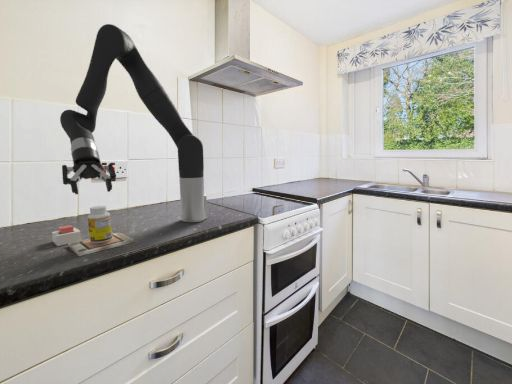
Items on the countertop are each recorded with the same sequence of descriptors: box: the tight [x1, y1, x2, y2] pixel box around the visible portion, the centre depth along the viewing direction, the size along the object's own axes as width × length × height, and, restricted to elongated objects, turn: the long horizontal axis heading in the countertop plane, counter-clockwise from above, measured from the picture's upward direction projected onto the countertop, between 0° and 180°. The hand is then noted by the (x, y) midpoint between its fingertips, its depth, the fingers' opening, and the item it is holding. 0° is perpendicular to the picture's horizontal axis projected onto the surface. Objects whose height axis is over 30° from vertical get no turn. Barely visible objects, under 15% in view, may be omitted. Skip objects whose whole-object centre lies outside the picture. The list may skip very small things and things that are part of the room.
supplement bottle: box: [87, 205, 113, 244], centre depth 73 cm, size 6×6×10 cm
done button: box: [57, 224, 74, 234], centre depth 76 cm, size 3×3×2 cm
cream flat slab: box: [67, 232, 135, 257], centre depth 74 cm, size 14×11×1 cm
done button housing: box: [51, 227, 83, 247], centre depth 77 cm, size 6×6×3 cm
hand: (93, 191), depth 78 cm, fingers open, 8 cm apart
